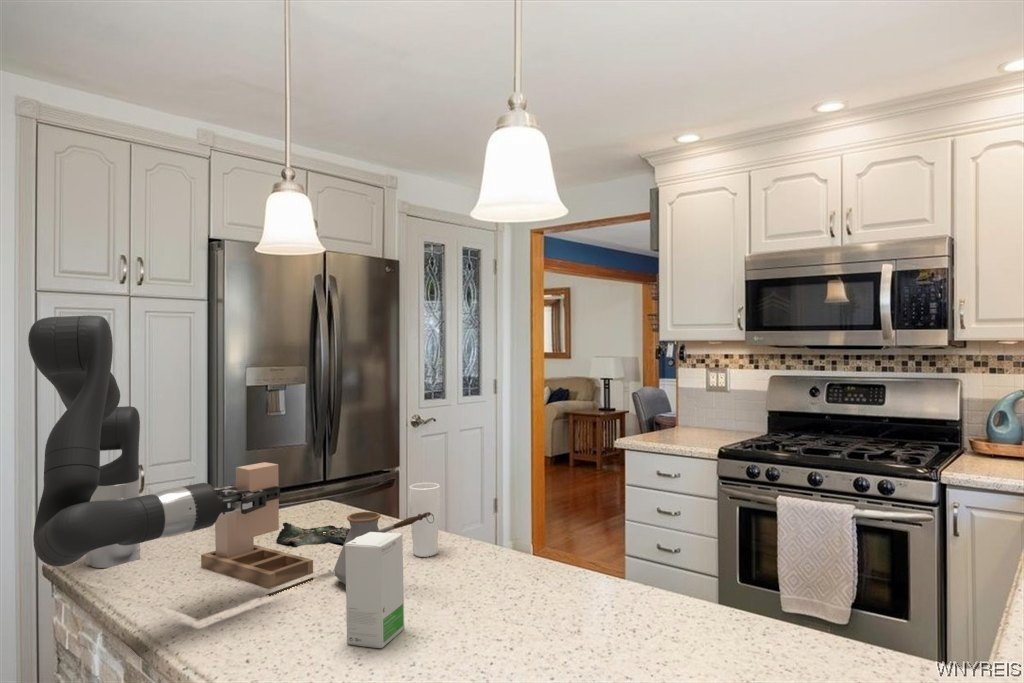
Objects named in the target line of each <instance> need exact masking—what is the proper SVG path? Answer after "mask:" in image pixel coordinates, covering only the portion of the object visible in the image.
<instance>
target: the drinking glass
mask: <svg viewBox="0 0 1024 683" xmlns="http://www.w3.org/2000/svg"><path fill="white" fill-rule="evenodd" d="M408 490H409V491H408V492H409V493H408V501H409V502H408V505H409V506H408V508H409V517H415V516H418V514H424V513H427V512H430V513H431V514H433V516H434V522H433V516H432V515H429V516H428V517H427V518H428V521H429V522H433V523H429V522H428V521H427V519H426V518H423V519H422V520H418V521H416V522H414V523H412V524H410V526H411V536H412V538H411V540H412V553H413V555H414V556H416V557H418V558H428V557H429V556H430V557H433V556H435V555H436V554H437V553H438V551H439V550H438V547H439V546H438V545H439V542H438V541H439V528H440V527H439V526H440V525H439V524H440V514H441V512H440V511H441V486H440V484H439V483H435V482H419V483H413V484H410V485H409V489H408Z"/></svg>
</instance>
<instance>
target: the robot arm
mask: <svg viewBox="0 0 1024 683" xmlns="http://www.w3.org/2000/svg"><path fill="white" fill-rule="evenodd" d="M27 342H28V349H29V350H28V351H29V353H30V357H31V359H32V361H33V363H34V364H35V366H36V369H38V371H39V372H40V373H41V374H42V375H43V377H45V379H47V380H48V381H49V382H50V383H51V384H52V385H53V386H54V388H55V390H56V391H57V393H58V395H59V398H60V400H61V402H62V404H63V405H64V406H65V408H66V410H65V412H64V413H63V414H62V415H61V416H60V418H59V419H58V420H57V422H56V423H54V426H53V427H52V429H51V431H50V432H49V435H48V438H47V440H46V444H45V448H44V449H45V450H44V463H43V464H44V465H43V489H42V494H41V498H40V502H39V504H38V509H37V513H36V518H35V523H34V528H33V536H32V537H33V538H32V540H33V541H32V542H33V549H34V552H35V554H36V556H37V557H38V558H39V560H40V561H41V562H42V563H44V564H46V565H48V566H51V567H65V566H68V565H71V564H73V563H75V562H76V561H79V560H80V559H81V558H83V557H84V556H85V566H90V567H93V568H95V569H96V568H98V569H107V568H108V569H109V568H112V567H117V566H120V565H124V564H127V563H130V562H131V563H132V562H134V561H138V560H140V559H141V544H142V543H145V542H149V541H154V540H157V539H164V538H171V537H176V536H179V535H183V534H187V533H192V532H197V531H200V530H203V529H207V528H211V527H212V526H214V525H215V522H216V521H217V518H218V516H219V515H220V513H222V514H223V515H226V514H232V513H234V512H235V511H241V514H247V513H249V512H252V511H254V510H257V509H260V508H262V507H265V506H266V501H270V500H274V499H278V498H279V499H280V497H281V487H280V486H279V487H278V486H274V487H270V488H265V489H258V490H253V491H250V490H248V489H240V490H237V488H236V484H229V485H223V486H222V485H221V486H216V487H215V486H214V487H213V486H212V485H211V484H210V483H207V482H199V483H194V484H190V485H188V484H187V485H185V486H179V487H178V486H177V487H173V488H169V489H164V490H160V491H157V492H154V493H151V494H150V493H149V494H145V495H141V496H140V471H139V470H140V466H139V464H140V463H139V459H140V458H139V456H140V454H139V453H140V452H139V451H140V450H139V449H140V433H141V431H140V430H141V420H140V419H141V417H140V413H139V410H138V408H136V407H134V406H127V405H126V406H125V405H124V406H119V404H120V402H121V401H120V400H121V390H120V389H119V385H118V382H117V379H116V378H115V376H114V375H113V373H112V372H111V370H112V364H113V353H114V351H113V350H114V346H113V345H114V344H113V342H114V341H113V335H112V330H111V326H110V324H109V321H108V320H107V319H106V318H105V317H104V316H101V315H70V316H68V315H67V316H65V315H64V316H48V317H44V318H41V319H38V320H36V321H35V322H34V323H33V324H32V325H31V326H30V330H29V331H28V339H27ZM117 450H119V451H121V454H120V456H118V457H117V458H116V459H114V460H112V461H110V462H109V463H106V464H103V465H101V464H100V463H101V452H102V451H103V452H104V451H117ZM242 494H244V497H243V498H242Z"/></svg>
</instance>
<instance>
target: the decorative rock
mask: <svg viewBox="0 0 1024 683" xmlns="http://www.w3.org/2000/svg"><path fill="white" fill-rule="evenodd" d="M282 526H283V528H281V531H279V533H278V536H277V538H276V540H275V541H276V542H277V543H278V544H282V545H284V544H285V545H290V544H292V546H293V547H296V548H297V547H302V546H309V545H310V546H311V545H312V546H314V545H317V546H319V545H325V544H326V543H327V544H331V543H332V544H333V543H334V544H337V543H339V544H343V545H344V543H345V540H346V538H347V535H348V533H349V530H350V528H348V527H346V528H345V527H344V526H341V527H336V525H330V524H329V525H326V526H318V527H312V528H301V527H299V526H296V525H294V524H292V523H288V522H286V521H285V522H283V523H282ZM323 532H326V533H323Z"/></svg>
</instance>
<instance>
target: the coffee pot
mask: <svg viewBox="0 0 1024 683" xmlns="http://www.w3.org/2000/svg"><path fill="white" fill-rule="evenodd" d="M429 515H432V516H433V514H431V513H430V512H427V513H424V514H418V516H415V517H410V516H409V517H407V518H406V519H405V518H404V519H403V520H400V521H399V522H398V521H397V522H396V523H394V524H393V525H390V526H385V527H383V528H380V529H379V527H378V523H379V519H380V518H381V516H382V515H381V514H380V513H378V512H375V511H374V512H373V511H361V512H354V513H351V514H349V515H348V516H346V520H347V521H348V522H349V525H350V528H349V529H350V530H349V533H348V535H347V538H346V540H345V543H343V545H342V548H341V551H340V552H339V556H338V557H337V560H336V563H335V565H334V569H333V572H334V575H335V577H336V578H337V579H338V580H339V581H340V583H342V584H344V583H345V584H344V586H345V585H346V559H345V544H346V543H348V542H350V541H352V540H354V539H355V538H356V537H359V536H362V535H364V534H366V533H369V532H381V533H389V532H390V531H392V530H393V531H394V530H396V529H399V528H403V527H407V526H411V524H412V523H414V522H416V521H418V520H422V519H423V518H426V519H427V521H428V518H427V517H428V516H429ZM428 522H429V521H428ZM433 522H434V516H433ZM433 522H429V523H433Z"/></svg>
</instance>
